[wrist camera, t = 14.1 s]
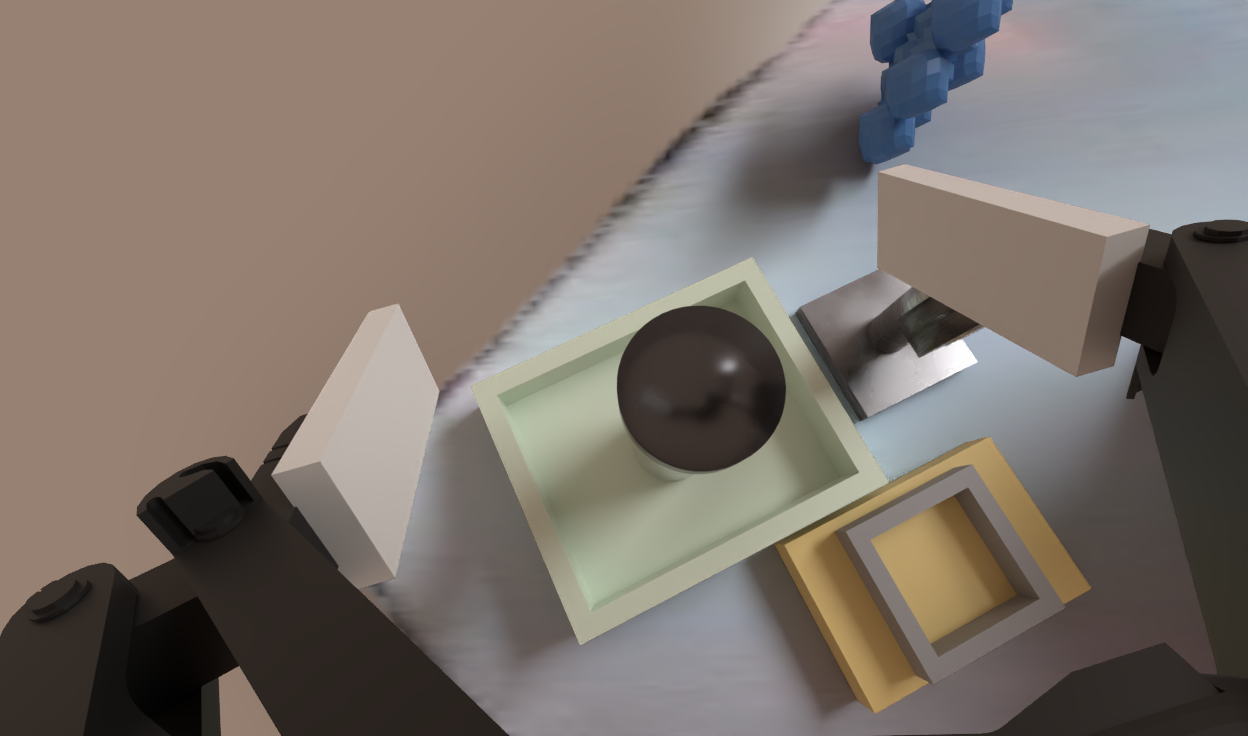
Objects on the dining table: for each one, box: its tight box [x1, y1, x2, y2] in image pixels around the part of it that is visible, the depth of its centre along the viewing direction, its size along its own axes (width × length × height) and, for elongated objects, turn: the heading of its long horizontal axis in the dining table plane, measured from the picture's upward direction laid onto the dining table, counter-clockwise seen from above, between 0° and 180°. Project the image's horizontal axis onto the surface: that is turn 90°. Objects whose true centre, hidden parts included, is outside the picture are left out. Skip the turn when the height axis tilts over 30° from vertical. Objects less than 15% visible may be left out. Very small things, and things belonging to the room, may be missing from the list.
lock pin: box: [617, 306, 786, 481], centre depth 23 cm, size 5×5×13 cm
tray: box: [470, 257, 889, 645], centre depth 29 cm, size 16×13×4 cm
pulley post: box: [795, 269, 985, 420], centre depth 26 cm, size 7×7×12 cm
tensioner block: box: [774, 437, 1092, 714], centre depth 27 cm, size 12×8×4 cm, turn 116°
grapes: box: [859, 0, 1013, 164], centre depth 30 cm, size 12×7×12 cm, turn 143°
